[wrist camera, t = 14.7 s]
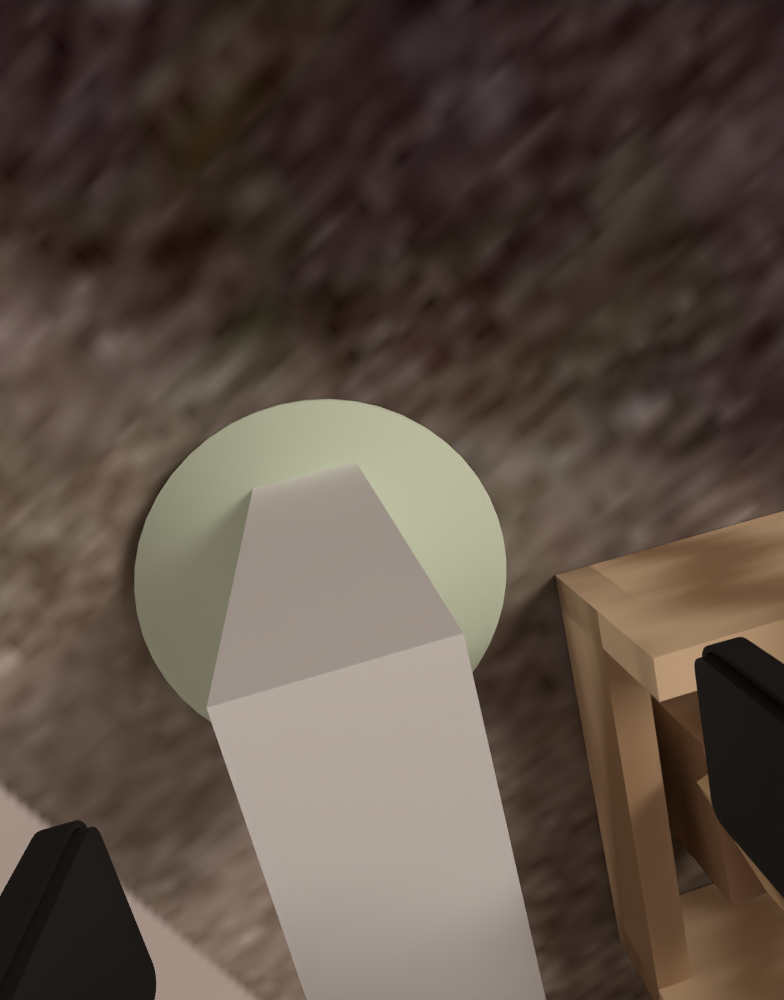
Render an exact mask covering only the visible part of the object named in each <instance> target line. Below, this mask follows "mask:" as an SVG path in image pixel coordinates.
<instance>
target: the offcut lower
mask: <svg viewBox="0 0 784 1000" xmlns="http://www.w3.org/2000/svg"><path fill="white" fill-rule="evenodd" d="M650 696H651V702H652V709H653V716H654V723H655V730H656V737H657V744H658V750H659V757H660V764H661V771H662V778H663V785H664V792H665V799H666V805H667V812H668V819H669V826H670V829H671V830H672V831H673V832H674V834H675V835H676V836H677V837H678V839H679V840H680V841H681V842H682V844H683V845H684V846H685V847H686V849H687V850H688V851H689V852H690V854H691V855H692V856H693V857H694V859H695V860H696V861H697V862H698V864H699V865H700V866H701V867H702V869H703V870H704V871H705V872H706V874H707V875H708V876H709V877H710V879H711V880H712V881H713V882H714V884H715V885H716V886H717V887H718V889H719V890H720V891H721V892H722V894H723V895H724V896H725V897H726V899H727V900H728V901H729V902H730V904H731V905H732V906H734V905H737V904H739V903H742V902H744V901H747V900H750V899H752V898H755V897H757V896H760V895H762V894H765V893H768V892H767V891H766V890H765V888H764V887H763V885H762V884H761V882H760V880H759V879H758V877H757V876H756V874H755V873H754V871H753V870H752V868H751V866H750V865H749V863H748V862H747V860H746V859H745V857H744V855H743V854H742V852H741V851H740V849H739V848H738V846H737V844H736V843H735V841H734V840H733V838H732V837H731V836H730V835H729V834H728V833H727V831H726V830H725V829H724V828H723V826H722V825H721V824H720V822H719V820H718V819H717V816H716V814H715V812H714V809H713V807H712V805H711V804H710V802H709V801H708V799H707V798H706V796H705V794H704V793H703V791H702V790H701V788H700V787H699V785H698V783H697V781H699V780H700V779H702V778H703V777H705V776H706V775H707V774H708V772H707V764H706V756H705V748H704V740H703V732H702V724H701V717H700V709H699V701H698V693H697V691H694V692H691V693H687V694H684V695H681V696H677V697H674V698H671V699H668V700H664V701H661V702H659V701H658V700H657V699H656V698H655V697H654V696H653V695H652V694H651V693H650Z"/></svg>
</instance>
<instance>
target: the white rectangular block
mask: <svg viewBox="0 0 784 1000" xmlns="http://www.w3.org/2000/svg"><path fill="white" fill-rule="evenodd" d="M207 711H208V714H209V717H210V720H211V723H212V726H213V729H214V731H215V734H216V737H217V740H218V743H219V746H220V749H221V752H222V755H223V758H224V761H225V763H226V766H227V769H228V772H229V775H230V778H231V781H232V784H233V787H234V790H235V793H236V795H237V798H238V801H239V804H240V807H241V810H242V813H243V816H244V819H245V822H246V825H247V828H248V830H249V833H250V836H251V839H252V842H253V845H254V848H255V851H256V854H257V857H258V860H259V863H260V865H261V868H262V871H263V874H264V877H265V880H266V883H267V886H268V889H269V892H270V895H271V897H272V900H273V903H274V906H275V909H276V912H277V915H278V918H279V921H280V924H281V927H282V929H283V932H284V935H285V938H286V941H287V944H288V947H289V950H290V953H291V956H292V959H293V962H294V964H295V967H296V970H297V973H298V976H299V979H300V982H301V985H302V988H303V991H304V994H305V996H306V999H307V1000H546V998H545V994H544V989H543V985H542V980H541V976H540V971H539V967H538V963H537V958H536V954H535V949H534V945H533V940H532V936H531V931H530V927H529V923H528V918H527V914H526V909H525V905H524V900H523V896H522V891H521V887H520V883H519V878H518V874H517V869H516V865H515V860H514V856H513V851H512V847H511V843H510V838H509V834H508V829H507V825H506V820H505V816H504V811H503V807H502V802H501V798H500V794H499V789H498V785H497V780H496V776H495V771H494V767H493V762H492V758H491V754H490V749H489V745H488V740H487V736H486V731H485V727H484V722H483V718H482V714H481V709H480V705H479V700H478V696H477V691H476V687H475V682H474V678H473V674H472V669H471V665H470V660H469V656H468V651H467V647H466V642H465V638H464V634H463V632H462V630H461V629H460V627H459V625H458V624H457V622H456V621H455V619H454V617H453V616H452V614H451V613H450V611H449V609H448V608H447V606H446V605H445V603H444V601H443V600H442V598H441V597H440V595H439V593H438V592H437V590H436V589H435V587H434V585H433V584H432V582H431V581H430V579H429V577H428V576H427V574H426V573H425V571H424V569H423V568H422V566H421V565H420V563H419V562H418V560H417V558H416V557H415V555H414V554H413V552H412V550H411V549H410V547H409V546H408V544H407V542H406V541H405V539H404V538H403V536H402V534H401V533H400V531H399V530H398V528H397V526H396V525H395V523H394V522H393V520H392V518H391V517H390V515H389V514H388V512H387V510H386V509H385V507H384V506H383V504H382V502H381V501H380V499H379V498H378V496H377V495H376V493H375V491H374V490H373V488H372V487H371V485H370V483H369V482H368V480H367V479H366V477H365V475H364V474H363V472H362V471H361V469H360V467H359V466H358V464H357V463H356V462H352V463H348V464H344V465H340V466H336V467H333V468H329V469H325V470H321V471H317V472H313V473H310V474H306V475H302V476H298V477H294V478H290V479H287V480H283V481H279V482H275V483H271V484H267V485H264V486H260V487H256V488H253V491H252V496H251V500H250V505H249V510H248V515H247V519H246V524H245V529H244V533H243V538H242V543H241V547H240V552H239V557H238V562H237V566H236V571H235V576H234V580H233V585H232V590H231V595H230V599H229V604H228V609H227V613H226V618H225V623H224V628H223V632H222V637H221V642H220V646H219V651H218V656H217V661H216V665H215V670H214V675H213V679H212V684H211V689H210V694H209V698H208V703H207Z"/></svg>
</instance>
